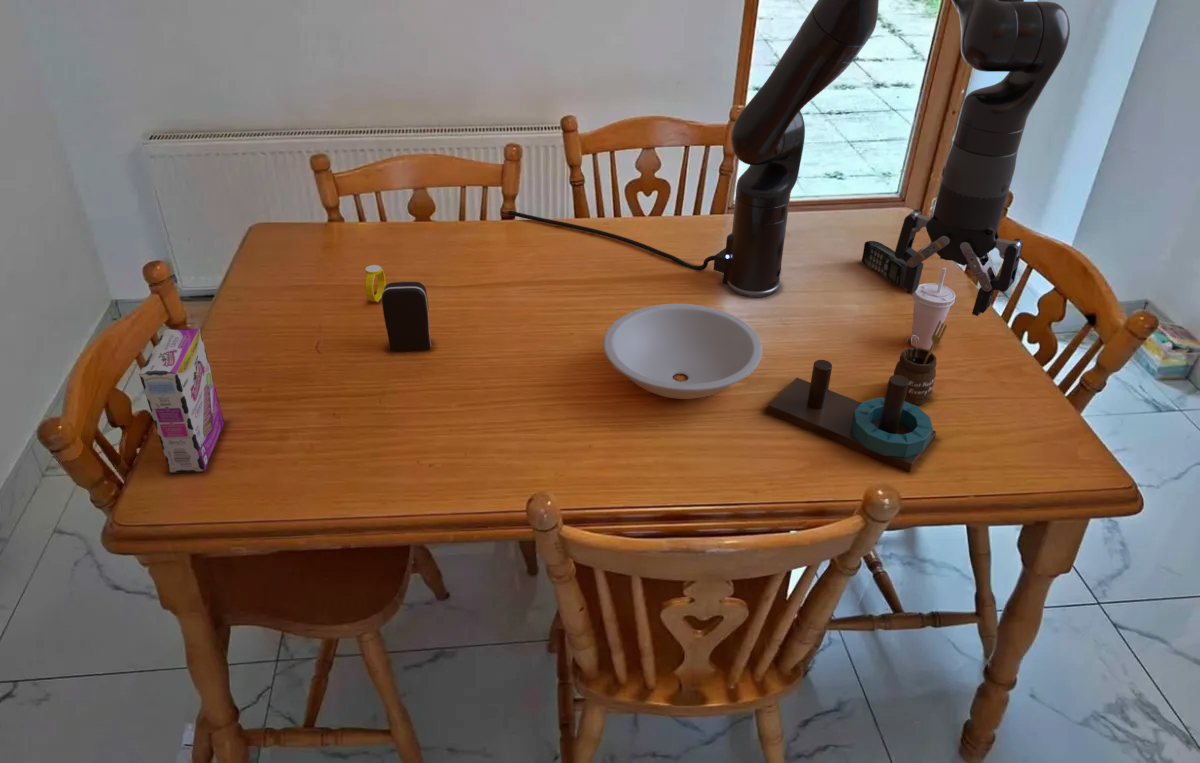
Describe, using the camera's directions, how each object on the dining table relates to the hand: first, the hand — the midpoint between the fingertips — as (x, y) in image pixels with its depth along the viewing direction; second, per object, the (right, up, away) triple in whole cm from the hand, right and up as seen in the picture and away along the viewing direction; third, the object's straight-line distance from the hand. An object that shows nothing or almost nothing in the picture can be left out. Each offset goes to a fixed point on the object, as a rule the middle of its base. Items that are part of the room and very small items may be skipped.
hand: (943, 301), depth 118 cm
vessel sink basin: (-31, -10, +27) cm, 42 cm away
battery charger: (-74, -4, +34) cm, 82 cm away
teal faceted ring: (-3, -17, +13) cm, 22 cm away
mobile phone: (+10, +9, +54) cm, 55 cm away
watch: (-83, +4, +47) cm, 95 cm away
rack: (-7, -17, +17) cm, 25 cm away
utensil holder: (+4, -12, +24) cm, 27 cm away
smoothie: (+10, -4, +35) cm, 37 cm away
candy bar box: (-100, -20, +12) cm, 102 cm away
